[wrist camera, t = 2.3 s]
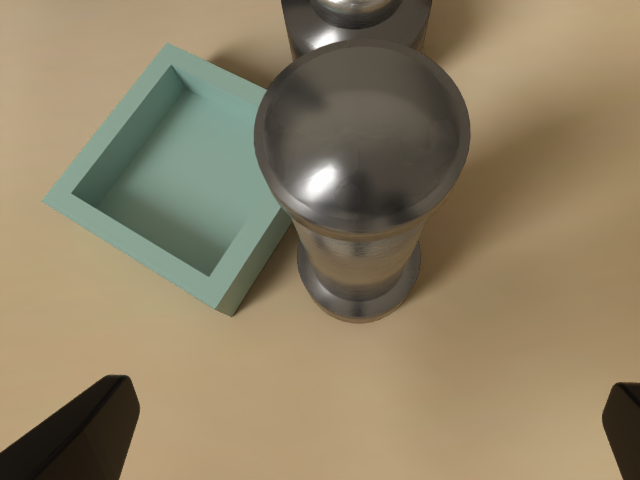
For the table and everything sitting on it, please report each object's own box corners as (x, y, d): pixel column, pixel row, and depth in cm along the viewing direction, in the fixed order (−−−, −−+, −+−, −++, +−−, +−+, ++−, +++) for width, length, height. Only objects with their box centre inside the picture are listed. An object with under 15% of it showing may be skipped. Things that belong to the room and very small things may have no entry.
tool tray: (337, 149, 23) (335, 122, 20) (231, 317, 21) (214, 309, 18) (185, 75, 25) (167, 42, 22) (75, 220, 23) (41, 201, 20)
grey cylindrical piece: (432, 248, 21) (534, 81, 9) (380, 344, 20) (415, 301, 8) (337, 199, 22) (316, -8, 10) (283, 288, 21) (185, 174, 9)
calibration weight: (442, 33, 24) (468, -72, 19) (381, 131, 23) (390, 50, 17) (333, -10, 26) (326, -119, 20) (270, 79, 24) (244, -11, 19)
